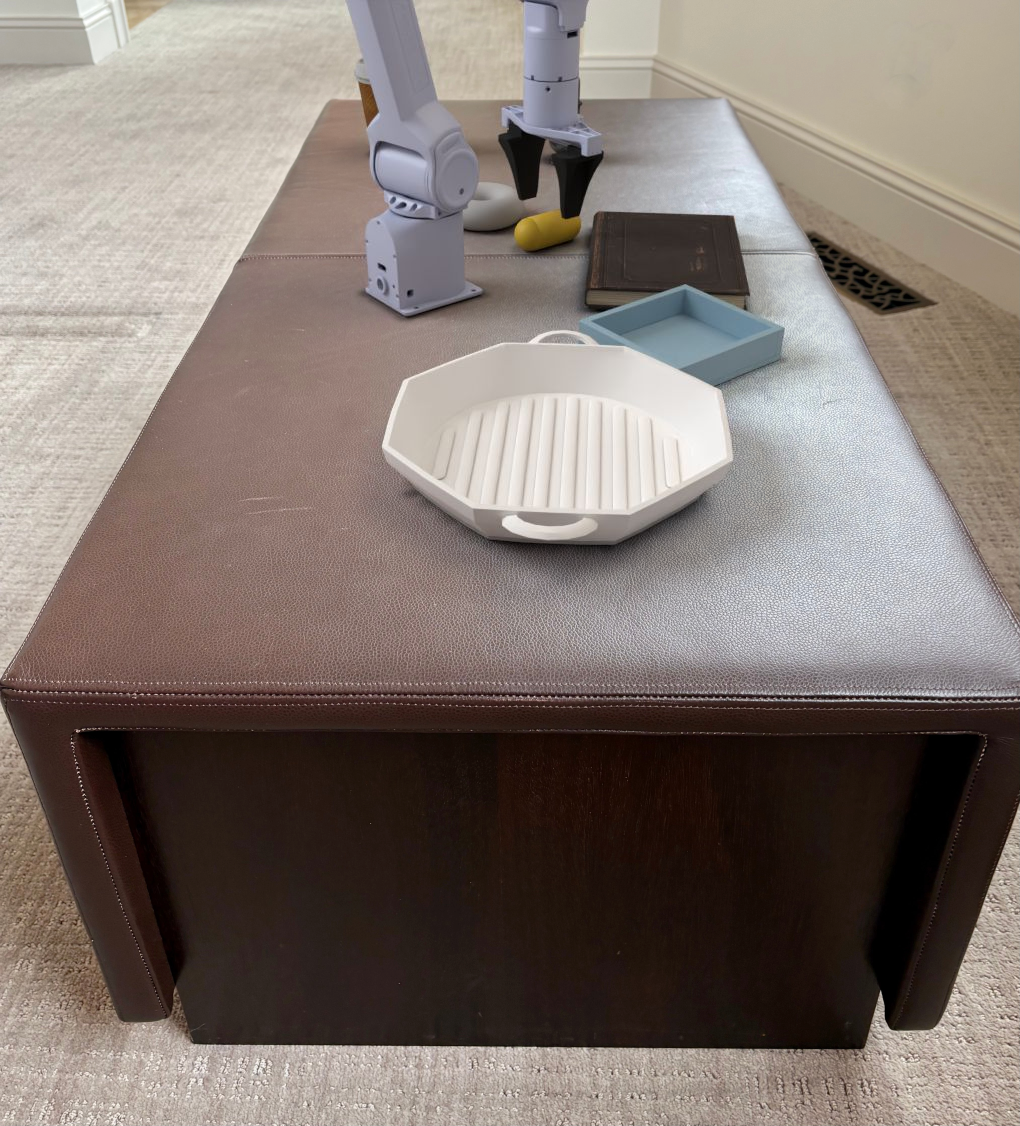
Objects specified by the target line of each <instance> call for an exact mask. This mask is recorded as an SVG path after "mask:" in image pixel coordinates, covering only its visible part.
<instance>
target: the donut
mask: <svg viewBox="0 0 1020 1126" xmlns="http://www.w3.org/2000/svg"><path fill="white" fill-rule="evenodd" d="M525 204H526V203H525V200H524V201H521V200H519V198H518V194H517V190H516V188H514V187H512V186H509V185H507V184H503V183H497V182H489V181H478V185H477V188H476V191H475V193H474V195H473V197H472V199H471V200H470V202H469V203H468V208H467V209H465V210H463V230H467V231H475V232H489V231H496V230H497V231H498V230H502V229H505V228H508V227H511V226H513V225H515V224H517V223H518V222H520V221H521V218H522V217H523V215H524V213H525V210H526V205H525Z"/></svg>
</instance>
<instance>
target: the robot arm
mask: <svg viewBox="0 0 1020 1126" xmlns="http://www.w3.org/2000/svg"><path fill="white" fill-rule="evenodd" d="M518 1H519V2H521V3H522V4H523V41H522V42H523V44H522V45H523V48H522V49H523V51H522V52H523V58H522V59H523V63H522V64H523V70H522V71H523V79H522V80H523V81H522V83H523V84H522V88H523V91H522V93H523V94H522V106H521V105H517V104H514V105H508V106H504V107H501V126H502V127H504V128H508V129H507V130H506V132H503V133H500V134H498V135H497V142H498V144H499V145H500V147H501V148H502V150H503V153H504V155H505V156H506V159H507V161H508V164H509V167H510V170H511V174H512V178H513V182H514V186H515V189H516V190H517V194H518V198H519V200H521V201H524V202H525V201H527V200H531V199H534V198H537V195H538V191H539V185H540V183H539V182H540V167H541V161H542V155H543V150H544V147H545V143H546V141H547V140H550V141H553V142H556V143H559V144H561V145H564V146H567V151H561V152H554V153H551V155H550V156H551V158H552V160H553V163H554V164H553V166H554V169H555V173H556V175H557V176H556V177H557V183H558V187H559V188H558V190H559V209H560V211H561V216H562V218H563V219H570V218H574V217H577V216H579V217H580V216H581V212H582V208H583V205H584V201H585V198H586V195H587V193H588V192H587V191H588V189H589V186H590V184H591V181H592V178H594V175H595V173H596V171H597V169H598V168H599V166H600V164H601V163H602V162H603V159H604V158H605V157H604V156H605V152H604V150H603V134H602V133H600V132H598V131H595V130H594V129H593V128H591V127H590V126H588V125H587V124H585V123H584V115H583V114H581V113H580V114H578V83H579V78H580V52H581V51H580V48H581V29H583V28H584V25H585V22H586V21H587V20H586V19H587V7H588V3H589V1H590V0H518ZM345 2H346V6H347V10H348V13H349V17H350V19H351V20H350V21H351V22H352V26H353V30H354V32H355V36H356V40H357V43H358V46H359V48H360V49H359V50H360V54H361V58H362V57H363V60H364V63H365V67H366V70H367V73H368V77H369V80H370V83H371V87H372V90H373V93H374V97H375V100H376V103H377V107H378V110H379V113H378V114H377V115H376V116H375V118H374V119H373V120H372V121H371V123H370V124H369V126H368V127H367V126H366V129H365V132H366V135H367V138H368V143H369V150H370V151H369V171H370V175H371V178H372V180H373V183H374V184H375V186H376V187H378V188H379V189H380V190H381V191H382V192H383V199H384V203H386V204H388V208H387V209H386V210H385V211H383V213H382V214H380V215H378V216H376V217H373V218H371V219H369V220H368V222H367V223H366V226H365V231H364V244H365V256H366V267H367V268H366V269H367V278H368V279H367V280H368V286H366V287H365V292H366V294H368V295H370V296H372V297H373V298H375V299H376V300H378V301H379V302H381V303H383V304H384V305H386V306H387V307H389V308H391V309H392V310H394V311H396V312H398V313H400V314H401V315H403V316H405V317H412V316H414V315H417V314H419V313H420V314H421V313H424V312H427V311H430V310H434V309H436V308H440V307H443V306H446V305H450V304H454V303H457V302H460V301H464V300H466V299H469V298H473V297H476V296H480V295H482V294H483V289H482V287H480V286H479V285H476V284H474V283H472V282H470V281H469V280H467V279H466V273H465V271H466V269H465V242H464V241H465V240H464V239H465V237H464V229H463V210H465V209H467V208H468V203H469V202H470V200H471V199H472V197H473V195H474V193H475V191H476V188H477V185H478V182H480V181H479V180H480V164H479V160H478V157H477V155H476V153H475V151H474V150H473V149H472V147H471V146H470V145H469V144H468V142H467V140H466V138H465V135H464V131H463V127H462V125H461V123H460V122H459V121H458V120H457V119H456V118H455V116H454V115H453V114H451V113H450V111H449V110H448V109H447V108H445V106H444V105H443V104H442V103H441V101H439V99H438V95H437V91H436V87H435V83H434V79H433V75H432V71H431V68H430V63H429V60H428V55H427V51H426V48H425V43H424V40H423V36H422V32H421V27H420V25H419V20H418V16H417V13H416V12H417V11H416V8H415V4H414V0H345Z"/></svg>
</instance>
